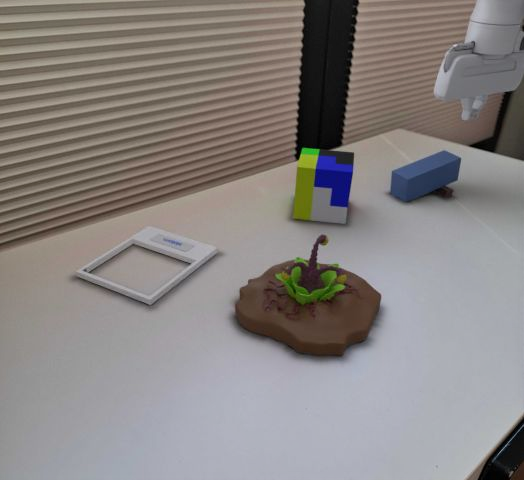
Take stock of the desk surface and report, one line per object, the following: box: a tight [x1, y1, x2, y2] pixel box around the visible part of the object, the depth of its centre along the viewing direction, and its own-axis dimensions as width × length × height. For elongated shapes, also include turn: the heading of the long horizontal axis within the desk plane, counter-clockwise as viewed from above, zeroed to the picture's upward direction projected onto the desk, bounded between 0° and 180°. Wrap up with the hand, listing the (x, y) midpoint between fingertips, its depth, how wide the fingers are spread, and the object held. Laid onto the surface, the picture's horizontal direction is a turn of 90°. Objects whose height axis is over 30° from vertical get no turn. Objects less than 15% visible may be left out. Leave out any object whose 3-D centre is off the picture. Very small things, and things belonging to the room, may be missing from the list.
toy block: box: [389, 149, 462, 203], centre depth 106 cm, size 5×5×14 cm
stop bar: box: [432, 185, 455, 199], centre depth 110 cm, size 2×9×2 cm, turn 29°
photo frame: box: [75, 225, 219, 306], centre depth 83 cm, size 15×1×18 cm
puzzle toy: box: [292, 147, 355, 225], centre depth 97 cm, size 10×10×10 cm
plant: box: [234, 234, 382, 357], centre depth 72 cm, size 20×20×11 cm
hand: (469, 119), depth 102 cm, fingers closed
